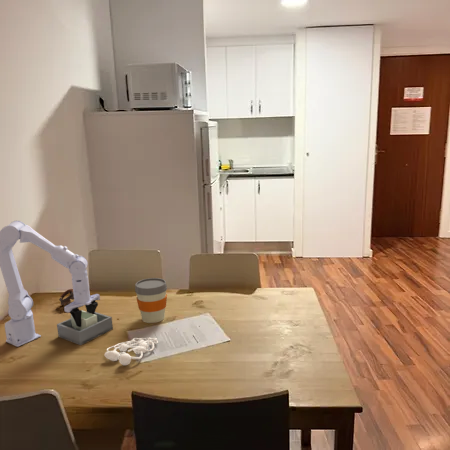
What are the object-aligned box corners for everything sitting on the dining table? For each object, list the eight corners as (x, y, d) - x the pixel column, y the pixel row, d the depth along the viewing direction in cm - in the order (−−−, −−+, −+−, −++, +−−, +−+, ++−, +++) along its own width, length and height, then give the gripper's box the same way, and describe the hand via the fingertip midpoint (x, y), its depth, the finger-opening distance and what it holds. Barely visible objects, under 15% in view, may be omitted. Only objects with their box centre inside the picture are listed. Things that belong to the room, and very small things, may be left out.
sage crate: (87, 332, 164) (85, 320, 163) (72, 327, 169) (70, 314, 168) (98, 327, 168) (96, 315, 167) (82, 322, 173) (81, 310, 172)
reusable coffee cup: (152, 327, 171) (150, 291, 168) (131, 320, 179) (128, 284, 176) (175, 316, 181) (173, 281, 178) (153, 309, 188) (151, 275, 185)
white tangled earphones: (139, 339, 166) (138, 328, 165) (168, 345, 157) (167, 334, 157) (98, 361, 150) (96, 349, 149) (127, 369, 142) (126, 357, 141)
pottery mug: (85, 308, 193) (73, 295, 189) (66, 318, 194) (54, 305, 190) (88, 292, 204) (77, 279, 200) (71, 301, 205) (60, 289, 201)
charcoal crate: (80, 345, 159) (79, 332, 158) (58, 336, 167) (56, 324, 166) (112, 329, 171) (111, 317, 170) (90, 321, 179) (89, 310, 177)
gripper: (71, 297, 157) (75, 333, 160) (103, 285, 169) (107, 318, 172) (59, 294, 161) (63, 328, 164) (91, 282, 173) (95, 314, 176)
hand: (84, 323), depth 168 cm, fingers closed on sage crate, 5 cm apart
